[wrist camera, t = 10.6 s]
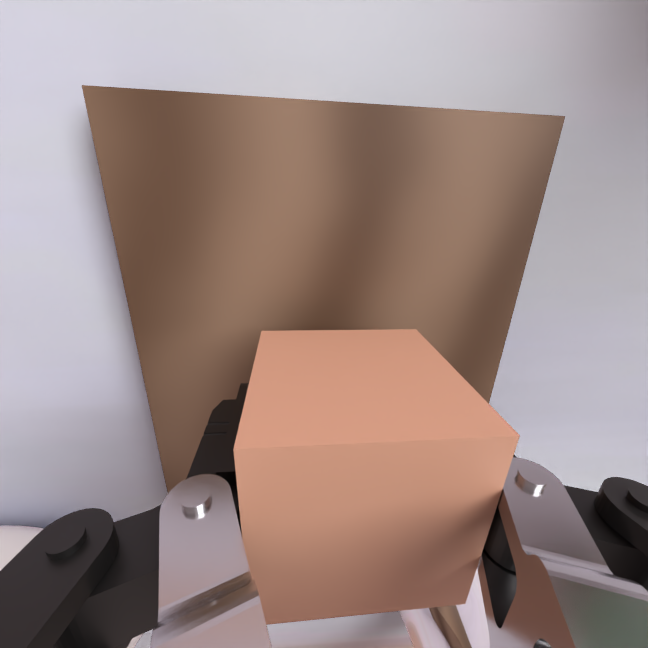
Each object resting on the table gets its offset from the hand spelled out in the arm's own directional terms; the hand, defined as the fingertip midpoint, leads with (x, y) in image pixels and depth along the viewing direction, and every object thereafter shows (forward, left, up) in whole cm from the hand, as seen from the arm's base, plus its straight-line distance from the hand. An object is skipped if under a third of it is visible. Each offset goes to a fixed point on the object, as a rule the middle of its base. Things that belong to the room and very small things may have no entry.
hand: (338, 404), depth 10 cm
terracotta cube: (0, 0, 0) cm, 0 cm away
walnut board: (0, 0, -3) cm, 3 cm away
